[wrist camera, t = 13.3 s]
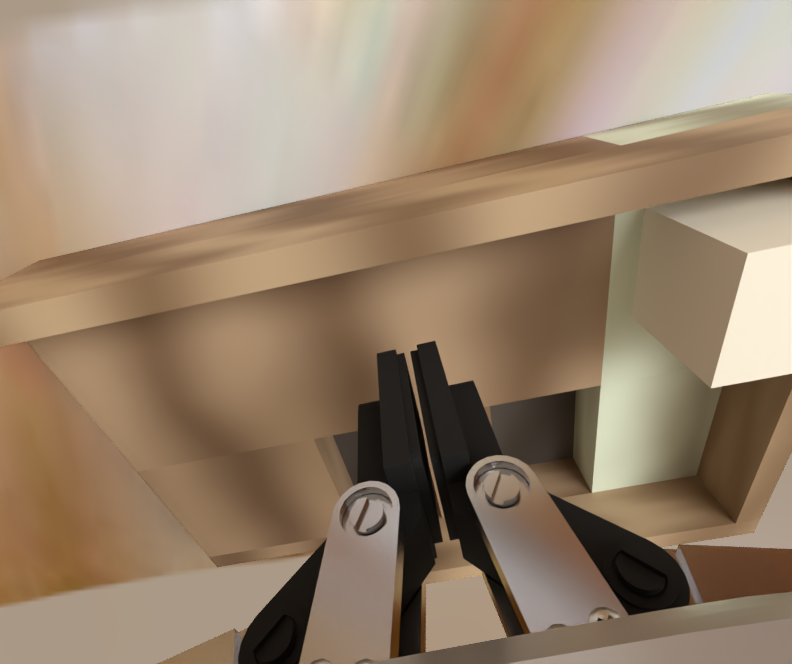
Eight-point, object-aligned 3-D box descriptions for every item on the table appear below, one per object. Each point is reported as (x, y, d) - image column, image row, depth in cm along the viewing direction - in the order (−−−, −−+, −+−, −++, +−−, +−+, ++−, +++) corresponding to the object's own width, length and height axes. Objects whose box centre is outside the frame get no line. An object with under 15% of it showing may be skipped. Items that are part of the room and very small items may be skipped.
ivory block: (631, 316, 14) (710, 388, 11) (644, 207, 12) (748, 253, 9) (746, 293, 14) (864, 360, 11) (780, 177, 12) (940, 213, 9)
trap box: (231, 523, 24) (200, 619, 20) (39, 260, 15) (-95, 330, 11) (680, 445, 22) (753, 532, 18) (767, 93, 13) (957, 97, 9)
